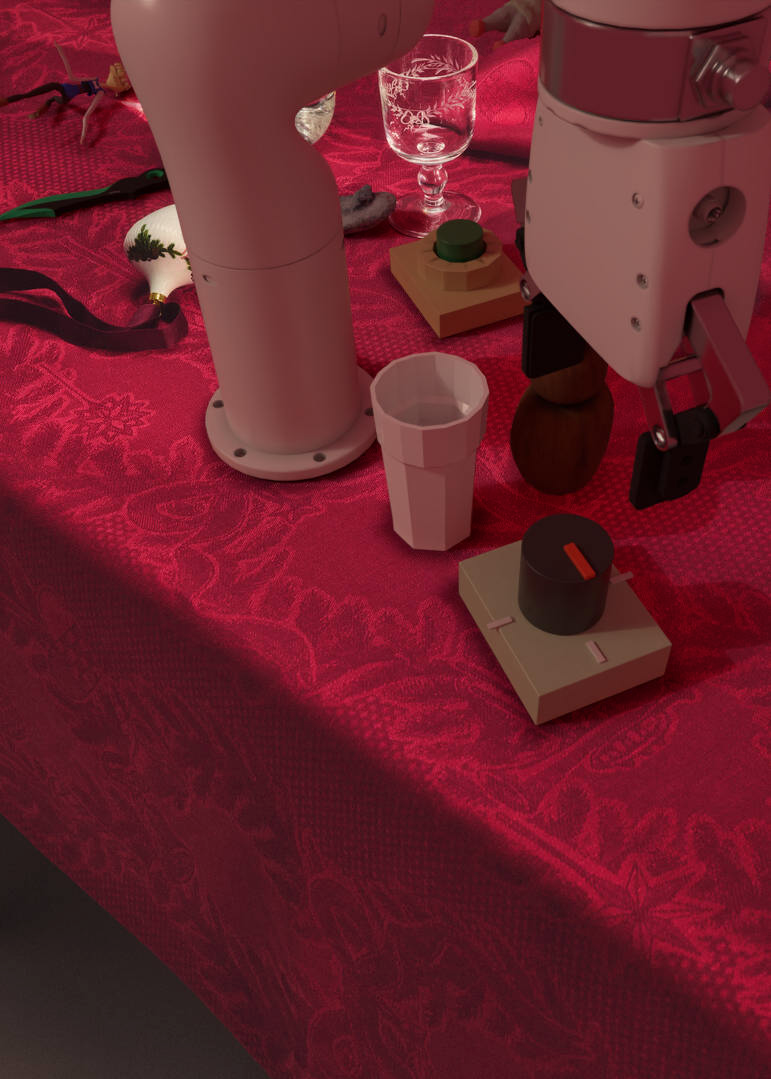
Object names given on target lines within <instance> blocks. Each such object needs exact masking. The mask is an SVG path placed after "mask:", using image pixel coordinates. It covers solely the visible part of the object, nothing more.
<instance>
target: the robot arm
mask: <svg viewBox="0 0 771 1079" xmlns="http://www.w3.org/2000/svg"><path fill="white" fill-rule="evenodd" d="M435 2H436V0H110V10H109V11H110V13H109V14H110V25H111V30H112V31H111V32H112V34H113V38H114V42H115V46H116V49H117V53H118V55H119V57H120V60H121V63H122V66H123V69H125V74H126V76H127V77H128V80H129V82H130V85H131V87H132V89H133V91H134V93H135V97H136V98H137V100H138V103H139V105H140V107H141V110H142V111H143V115H144V117H145V119H146V121H147V124H148V126H149V128H150V131H151V133H152V136H153V138H154V141H155V144H156V147H157V150H158V152H159V155H160V159H161V161H162V164H163V168H165V171H166V174H167V178H168V181H169V184H170V188H169V189H170V192H171V196H172V198H173V202H174V206H175V211H176V215H177V219H178V223H179V227H180V232H181V235H182V239H183V242H184V245H185V249H186V253H187V257H188V261H189V262H188V263H189V265H190V269H191V273H192V278H193V283H194V287H195V291H196V295H197V299H198V303H199V307H200V311H201V316H202V319H203V325H204V328H205V333H206V337H207V341H208V344H209V345H208V346H209V349H210V353H211V358H212V361H213V366H214V369H215V375H216V378H217V382H218V386H219V387H218V388H217V389H216V390H215V391H214V393H213V394H212V396H211V398H210V400H209V402H208V405H207V408H206V410H205V428H206V433H207V437H208V440H209V442H210V445H211V447H212V450H213V451H214V452H215V453H216V455H217V457H219V458H220V459H221V460H222V461H223V462H224V463H226V464H227V465H228V466H229V467H230V468H232V469H234V470H236V471H238V472H240V473H243V474H245V475H247V476H251V477H255V478H258V479H263V480H270V481H277V482H278V481H280V482H281V481H284V482H285V481H301V480H308V479H313V478H316V477H320V476H324V475H327V474H330V473H333V472H334V471H337V470H340V469H341V468H343V467H346V466H347V465H349V464H350V463H352V462H354V461H355V460H357V459H358V458H360V457H361V456H362V455H363V454H364V453H365V452H366V451H367V450H368V449H369V448H370V447H371V446H372V444H374V442H375V441H376V439H377V432H376V426H375V419H374V413H373V406H372V399H371V391H370V385H371V384H372V382H373V381H374V379H375V378H373V377H372V376H371V375H370V374H369V372H368V371H367V370H365V369H363V368H362V367H360V366H359V365H358V360H357V351H356V340H355V332H354V322H353V313H352V312H353V311H352V303H351V302H352V301H351V293H350V282H349V274H348V272H349V271H348V263H347V254H346V245H345V234H344V233H343V223H342V213H341V205H340V197H339V195H340V192H339V191H340V190H339V186H338V182H337V179H336V176H335V173H334V172H333V169H332V167H331V165H330V164H329V162H328V161H327V159H326V158H325V157H324V156H323V154H322V153H321V152H320V151H319V150H318V149H317V148H316V147H315V146H314V145H313V144H311V143H310V142H309V141H308V140H306V139H305V138H304V137H303V136H302V135H301V134H300V132H299V131H298V128H297V126H296V118H297V115H298V114H299V113H300V111H301V110H302V109H304V108H306V107H307V106H309V105H311V104H313V103H315V102H316V101H319V100H320V99H322V98H324V97H325V96H327V95H329V94H331V93H333V92H335V91H337V90H339V89H342V88H344V87H347V86H349V85H351V84H352V83H354V82H357V81H359V80H361V79H363V78H365V77H368V76H370V75H372V74H374V73H376V72H377V71H380V70H382V69H384V68H386V67H388V66H390V65H392V64H393V63H395V62H397V61H398V60H400V59H402V58H403V57H405V56H406V55H407V54H409V53H410V52H411V51H412V50H414V48H415V47H417V45H418V44H419V43H420V42H421V40H422V39H423V37H424V36H425V34H426V33H427V31H428V29H429V27H430V24H431V22H432V20H433V19H432V18H433V14H434V10H435V4H436V3H435ZM539 32H540V33H539V50H538V51H539V54H538V71H537V93H538V95H537V102H536V108H535V114H534V121H533V126H532V133H531V135H532V136H531V141H530V142H531V143H530V152H529V162H528V163H529V164H528V172H527V175H523V176H520V177H517V178H513V179H512V180H511V182H510V193H511V197H512V198H511V199H512V202H513V209H514V215H515V220H516V224H519V225H520V227H519V228H517V229H516V230H515V239H514V245H515V247H516V248H517V250H518V252H519V256H520V258H521V262H522V265H523V269H524V273H523V275H522V276H521V277H520V279H519V288H520V292H521V295H522V297H523V299H524V300H525V301H526V302H530V301H532V304H530V305H527V306H524V313H523V314H522V315H523V317H522V318H523V319H522V337H521V338H522V340H521V341H522V342H521V362H520V364H521V365H520V370H521V372H522V373H523V374H524V375H525V377H526V378H527V379H529V378H530V379H531V378H532V379H535V378H538V377H541V376H544V375H547V374H550V373H553V372H556V371H559V370H562V369H566V368H569V367H572V366H575V365H578V364H580V363H581V362H582V361H583V360H584V354H585V344H586V341H587V342H588V343H589V344H590V345H591V347H592V348H593V349H594V350H595V351H596V352H597V353H598V354H599V355H600V356H601V357H602V358H603V359H604V360H605V361H606V362H607V363H608V366H609V367H610V368H612V369H613V371H615V372H616V373H617V374H618V375H619V376H620V377H622V378H623V379H624V380H626V381H628V382H630V383H632V384H633V385H636V386H637V388H638V392H639V396H640V400H641V404H642V407H643V411H644V414H645V419H646V422H647V426H648V430H647V431H645V432H642V433H641V434H640V435H639V436H638V438H637V440H636V441H637V442H636V448H635V454H634V461H633V466H632V472H631V478H630V485H629V489H628V502H629V503H630V505H631V506H632V507H633V508H634V509H635V510H636V511H643V510H646V509H649V508H651V507H653V506H656V505H659V504H663V503H665V502H672V501H676V500H678V499H681V498H684V497H686V496H687V495H689V494H690V493H692V492H693V491H695V490H696V489H697V488H699V485H700V484H701V481H702V476H703V472H704V468H705V464H706V460H707V455H708V453H709V452H708V451H709V447H710V443H711V441H713V440H715V439H718V438H721V437H723V436H727V435H729V434H732V433H735V432H738V431H741V430H743V429H745V428H746V427H747V425H748V423H749V422H751V421H752V420H753V419H754V418H756V417H757V416H758V415H759V414H760V413H761V412H762V411H764V410H765V409H766V408H767V407H768V406H769V405H770V404H771V390H770V386H769V384H768V383H767V381H766V379H765V377H764V375H763V373H762V371H761V369H760V367H759V365H758V363H757V362H756V360H755V358H754V355H753V354H752V352H751V350H750V347H749V346H748V344H747V342H746V341H747V337H748V333H749V329H750V325H751V322H752V317H753V312H754V306H755V303H756V299H757V298H756V296H757V291H758V285H759V282H760V275H761V270H762V265H763V264H762V263H763V257H764V251H765V245H766V236H767V230H768V223H769V222H768V221H769V213H770V202H771V111H769V109H767V108H766V107H765V106H764V105H763V104H762V102H763V100H764V99H765V98H766V96H767V95H768V92H769V91H770V88H771V71H770V70H769V66H770V62H771V0H542V7H541V28H540V31H539ZM681 343H682V344H683V348H684V353H685V356H681V357H678V358H675V359H672V358H673V356H674V355H675V353H676V351H677V350H678V348H679V346H680V345H681ZM686 375H687V378H688V382H689V386H690V389H691V393H692V397H693V401H694V405H695V406H694V407H691V408H687V409H684V410H681V411H679V412H675V413H674V409H673V405H672V402H671V399H670V394H669V391H668V387H667V383H666V382H669V381H671V380H675V379H678V378H680V377H683V376H686ZM530 379H529V380H530Z"/></svg>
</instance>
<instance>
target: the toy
mask: <svg viewBox="0 0 771 1079" xmlns="http://www.w3.org/2000/svg"><path fill="white" fill-rule="evenodd" d="M541 7H542V0H509V1H507V2H506V3H504V5H502V6H501V7H498V8H497V9H495V10H494V11H493V12H492V14H489V15H487V16H486V17H484V18H482V19H481V18H475V19H473V20H472V21H471V22H470V23H469V26H468V27H469V28H468V31H469V34H470V36H471V37H472V38H479V37H481V36H482V35H485V33H490V32H493V31H494V32H496V31H497V32H498V33H504V36H503V38H502V39H499V40H497V41H495V42H494V44H493V46H492V51H493V50H495V49H497V48H498V47H500V46H502V45H504V44H506V43H508V42H510V41H514V40H519V39H524V38H527V37H528V38H530V37H529V36H532V38H533V37H534V36H535V34H536V32H540V28H541Z"/></svg>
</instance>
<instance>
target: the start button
mask: <svg viewBox="0 0 771 1079" xmlns="http://www.w3.org/2000/svg"><path fill="white" fill-rule="evenodd" d="M483 228H484V227H483V226H482V225H481V224H480V223H479V222H477V221H475V220H472V219H468V218H454V219H449V220H447V221H445V222H442V223H441V224H440V225H438V227H437V228H436V229H437V231H436V243H437V254H438V256H439V257H440V258H441V259H443V260H445V261H448V262H451V263H466V262H469V261H473V260H476V259H478V258H479V257H480V256H481V255H482V253H483Z"/></svg>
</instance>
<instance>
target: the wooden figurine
mask: <svg viewBox="0 0 771 1079" xmlns="http://www.w3.org/2000/svg"><path fill="white" fill-rule="evenodd" d="M608 371H609V364H608V363H607V362H606V361H605V360H604V359H603V358H602V357H601V356H600V355H599V354H598V353H597V352H596V351H595V350H594V349H593V348H592V347H591V345H590V344H589V343H588V342H587V341H586V344H585V354H584V360H583V361H582V362H581V363H580V364H578V365H575V366H572V367H569V368H566V369H562V370H559V371H556V372H553V373H550V374H547V375H544V376H541V377H538V378H535V379H532V378H531V379H530V378H528V379H529V381H530V384H529V385H528V386H527V387H526V388H525V390H524V391H523V393H522V395H521V397H520V399H519V401H518V404H517V406H516V408H515V411H514V415H513V419H512V423H511V426H510V430H509V448H510V453H511V456H512V459H513V461H514V463H515V466H516V467H517V469H518V471H519V474H520V476H521V477H522V479H523V480H524V481H525V483H526V484H527V485H529V486H530V487H531V488H533V489H534V490H536V491H538V492H540V493H543V494H545V495H547V496H565V495H570V494H574V493H577V492H578V491H579V490H581V489H582V488H585V487H586V485H587V484H588V483H590V482H591V480H593V478H594V476H595V474H596V472H597V471H598V469H599V467H600V464H601V463H602V461H603V459H604V456H605V454H606V453H607V449H608V446H609V443H610V441H611V434H612V431H613V423H614V418H615V401H614V397H613V393H612V391H611V389H610V387H609V386H608V383H607V382H606V379H607V377H608Z"/></svg>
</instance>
